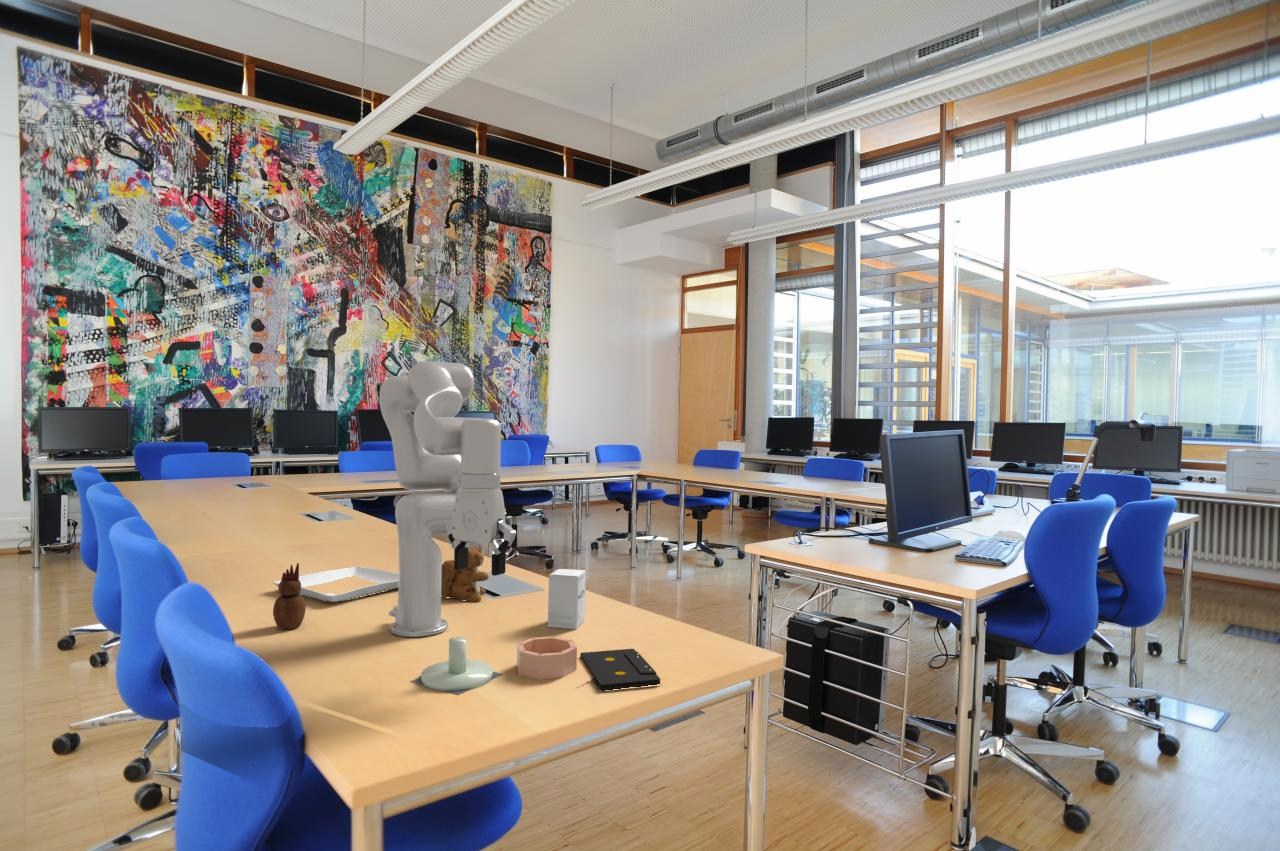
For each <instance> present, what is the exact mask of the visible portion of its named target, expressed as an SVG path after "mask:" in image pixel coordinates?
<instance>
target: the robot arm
mask: <svg viewBox="0 0 1280 851" xmlns="http://www.w3.org/2000/svg"><path fill="white" fill-rule="evenodd" d="M474 386H475V379H474V374H473V373H472V370H471V369H470V368H469V367H468V366H467V365H465V364H463V363H461V362H460V363H459V362H445V361H433V360H432V361H431V360H429V361H422V362H421V361H420V362H419V363H416V364H414V365H413V366H411V368H410V369H409V371H408V374H407V375H398V376H391V377H389V378H387V379H385V380H384V381H383V382H382V383H381V386H380V389H379V407H380V408H379V409H380V411H381V416H382V418H383V421H384V422H385V424H386V427H387V429H388V431H389V435H390V438H391V442H392V449H393V450H392V452H393V456H394V464H395V471H396V476H397V477H396V478H397V481H398V484H399V485H400V487H401V488H403V489H405V490H411V491H422V490H423V491H426V490H428V491H429V490H443V491H440V492H439V491H438V492H436V491H435V492H434V491H432V492H431V491H430V492H415V493H409V494H407V495H404V496H402V497H401V498H400V499H398V501H397V503H396V505H395V510H394V513H395V514H394V516H395V523H396V528H397V537H398V574H399V588H398V592H397V593H398V594H397V595H398V597H397V598H398V600H397V602H398V603H397V605H394V607H393V608H392V609H390V610H389V612H388V615H389V616H390V617H394V619H395V620H394V623H392V624H391V625H390V632H391V634H393V635H396V636H399V637H405V638H406V637H407V638H417V637H418V638H420V637H426V636H427V637H428V636H434V635H438V634H441V633H442V632H444V631H446V630H447V629H448V628H449V627H448V626H449V625H448V623H449V622H448V621H447V620H446V619H443V618H442V595H441V575H442V564H443V563H442V562H443V556H442V555H443V554H442V550H441V548H440V546H439V544H438V543H437V542H436V541H435V540H434V539H433V537H432V535H435V534H442V533H447V535H448V536H447V537H448V539H449V542H450V543H451V549H453V551H454V553H453V560H454V569H455V570H459V569H463V568H467V567H468V549H469V547H468V546H467V545H468V543H472V544H479V545H480V544H481V545H487V544H489V546H490V548H491V549H492V551H493V554H491V575H492V576H495V577H496V576H499V575H505V573H506V560H507V559H506V556H507V553H509V550H510V548H511V547H512V546H513V544H514V543H513V542H514V541H515V538H516V536H517V531H516V530H515V529H514V528H512V527H511V526H510V525H509V524H507V522H506V512H505V511H506V510H505V501H504V495H503V490H502V489H501V451H502V450H501V444H502V443H501V441H502V438H501V436H502V430H501V429H502V427H501V426H502V425H501V424H500V422H499V421H498V420H497V419H493V418H481V417H459V416H457V415H458V413H459V412H460V411H461V409H462V407H463V403H464V402H466V401H467V400H468V399H469V398H470V397H471V395H472V394H473V391H474V388H475V387H474ZM412 412H414V414H412Z"/></svg>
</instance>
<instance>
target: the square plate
mask: <svg viewBox="0 0 1280 851" xmlns="http://www.w3.org/2000/svg"><path fill="white" fill-rule="evenodd" d="M352 576H356V577H359V578H363V579H366V580H369V581H371V582H376V583H379V584H375V585H371V586H367V587H363V588H359V589H355V590H352V591H349V592H345V593H341V594H338V595H335V594H334V593H328V594H324V593H323V594H322V593H319V592H316V591H313V590H310V589H306V588H302V587H307V586H313V585H317V584H318V585H319V584H323V583H328V582H332V581H335V580H339V579H343V578H346V577H352ZM281 580H282V579H279V580H275V581H273V582H272V584H274V585H275V586H276V587H277V588H278V587H279V583H280V582H281ZM299 581H300V582H301V591H300V593H299V594H302V595H301V596H303V595H306V596H305V597H307V596H310V597H309V598H311V597H313V598H312V599H315V598H317V599H316V600H319V599H321V600H320V601H323V600H325V601H324V602H327V601H330V602H329V603H339V602H338V601H342V602H344V601H343V600H347V599H352V598H356V597H360V596H364V595H369V594H373V593H377V592H382V591H386V590H391V589H393V590H395V589H399V572H398V573H397V572H392V571H389V570H388V571H387V570H382V569H377V568H369V567H364V566H352V567H345V568H340V569H339V568H338V569H332V570H326V571H325V570H324V571H318V572H314V573H308V574H303V575H299ZM391 591H392V590H391ZM299 594H298V595H299Z"/></svg>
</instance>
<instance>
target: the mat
mask: <svg viewBox="0 0 1280 851" xmlns="http://www.w3.org/2000/svg"><path fill="white" fill-rule="evenodd" d="M503 675H504V673H500V672H497V671H493V677H492V679H491V680H490V681H492V680H494V679H497V678H498V677H501V676H503ZM409 682H410V683H413V684H416V685H420V686H423V687H425V686H424V685H423V684H422V683H421V676H420V677H417V678H414V679H412V680H410V681H409ZM473 689H474V688H472V689H467V690H460V691H444V692H446V693H449V694H452V695H456V696H460V695H462V694H464V693H466V692H469V691H471V690H473Z"/></svg>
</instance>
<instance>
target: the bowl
mask: <svg viewBox="0 0 1280 851" xmlns="http://www.w3.org/2000/svg"><path fill="white" fill-rule="evenodd" d="M577 655H578V646H577V645H576V644H575V642H574V640H573V639H569V638H564V637H559V636H554V635H553V636H541V637H540V636H539V637H530V638H528V639H525V640H523V641H521V642H519V643H517V644H516V669H517V672H518V675H519V676H522V677H527V678H530V679H534V680H551V679H563V678H565V677H566V676H567V677H568V675H571V674H573V673H575V672H577V667H578V666H577V665H578V664H577V663H578V660H577V659H578V656H577Z"/></svg>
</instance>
